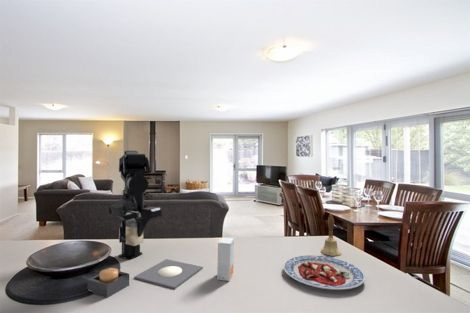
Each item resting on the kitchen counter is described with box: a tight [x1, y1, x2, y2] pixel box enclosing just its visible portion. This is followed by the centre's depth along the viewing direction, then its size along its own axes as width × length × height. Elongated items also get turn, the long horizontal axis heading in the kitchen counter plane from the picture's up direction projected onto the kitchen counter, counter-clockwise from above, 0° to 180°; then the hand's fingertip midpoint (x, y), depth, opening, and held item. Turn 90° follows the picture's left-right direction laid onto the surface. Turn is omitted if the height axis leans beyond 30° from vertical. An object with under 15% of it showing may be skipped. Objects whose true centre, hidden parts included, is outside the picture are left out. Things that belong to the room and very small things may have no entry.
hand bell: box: [320, 213, 342, 257], centre depth 111 cm, size 8×8×16 cm
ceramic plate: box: [283, 254, 366, 291], centre depth 89 cm, size 26×26×3 cm
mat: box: [133, 258, 204, 290], centre depth 89 cm, size 16×16×1 cm
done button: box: [99, 267, 119, 283], centre depth 79 cm, size 5×5×2 cm
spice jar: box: [126, 218, 144, 246], centre depth 90 cm, size 4×4×8 cm
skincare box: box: [216, 237, 235, 282], centre depth 87 cm, size 6×4×12 cm
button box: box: [86, 270, 130, 299], centre depth 79 cm, size 8×8×4 cm
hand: (134, 235), depth 90 cm, fingers closed on spice jar, 4 cm apart
